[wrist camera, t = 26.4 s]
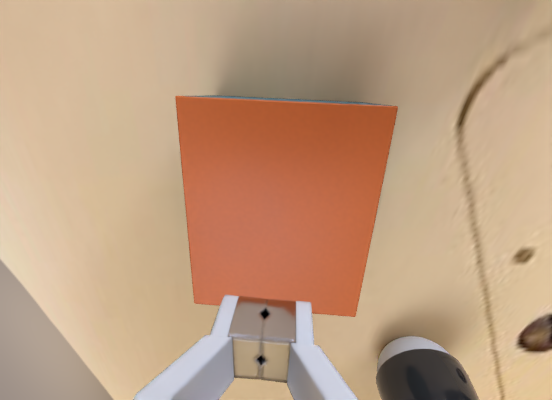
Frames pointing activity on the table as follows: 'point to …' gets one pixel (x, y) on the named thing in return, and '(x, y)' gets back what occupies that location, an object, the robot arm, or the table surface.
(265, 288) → the lid
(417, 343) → the pump dispenser
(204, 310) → the table surface
